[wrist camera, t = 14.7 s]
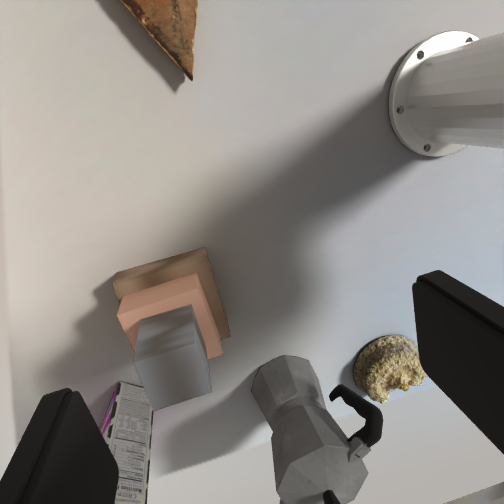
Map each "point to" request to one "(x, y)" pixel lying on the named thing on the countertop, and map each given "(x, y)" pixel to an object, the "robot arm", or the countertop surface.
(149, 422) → the candy bar box
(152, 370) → the grey block
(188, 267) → the tower base
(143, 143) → the countertop surface
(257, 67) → the countertop surface
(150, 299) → the tower top
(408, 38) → the countertop surface
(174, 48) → the flatbread slice
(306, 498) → the coffeepot
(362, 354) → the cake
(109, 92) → the countertop surface
